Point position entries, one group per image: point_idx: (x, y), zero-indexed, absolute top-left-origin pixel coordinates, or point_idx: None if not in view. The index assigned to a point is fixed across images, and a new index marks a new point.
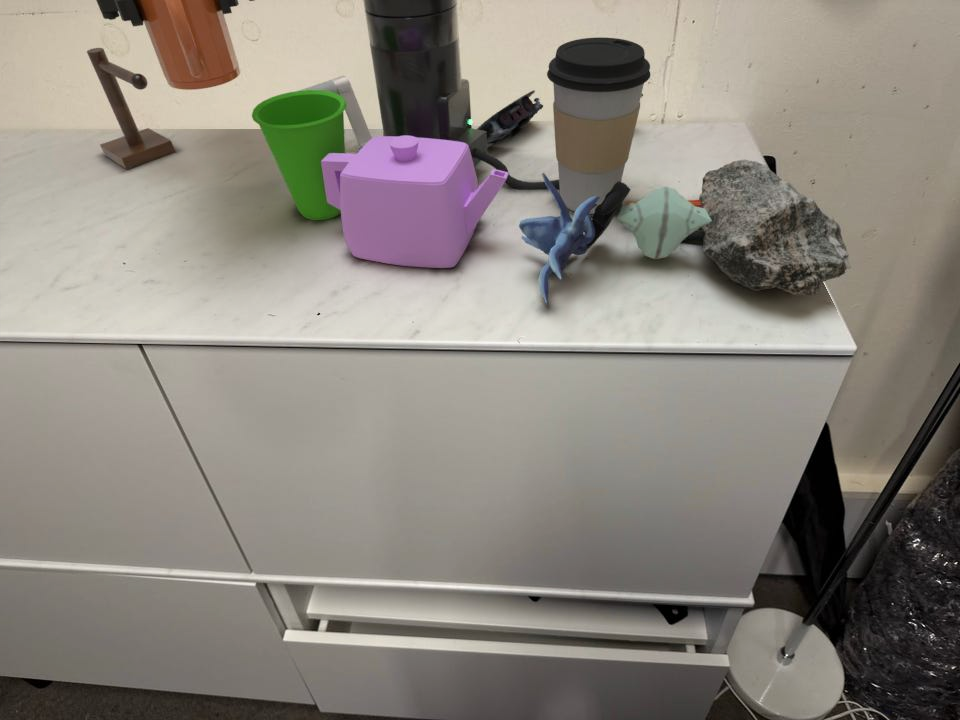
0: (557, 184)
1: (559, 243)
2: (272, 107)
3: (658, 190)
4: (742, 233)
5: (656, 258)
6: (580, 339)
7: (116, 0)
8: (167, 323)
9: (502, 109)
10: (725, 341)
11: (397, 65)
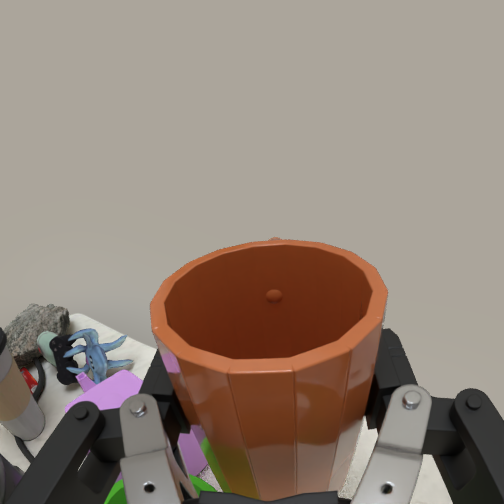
0: (24, 446)
1: (106, 345)
2: None
3: (45, 335)
4: (55, 315)
5: None
6: (139, 343)
7: (389, 330)
8: (373, 430)
9: None
10: (99, 323)
11: (14, 474)
